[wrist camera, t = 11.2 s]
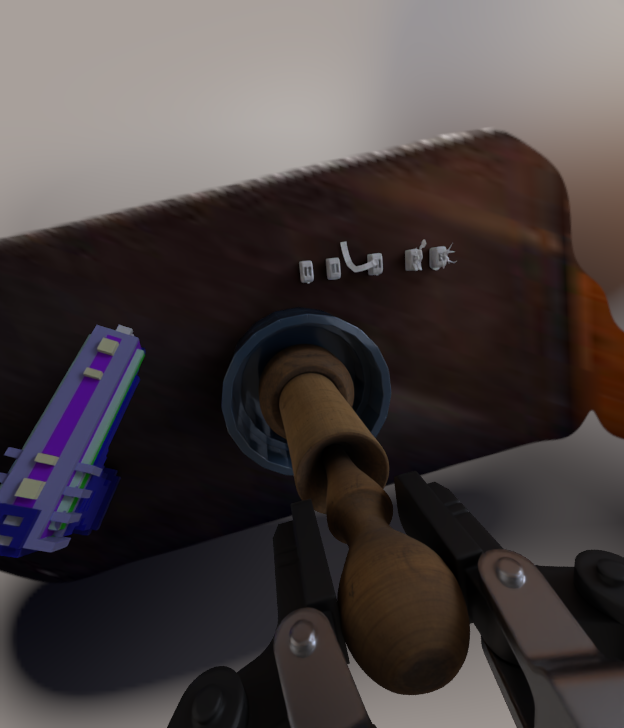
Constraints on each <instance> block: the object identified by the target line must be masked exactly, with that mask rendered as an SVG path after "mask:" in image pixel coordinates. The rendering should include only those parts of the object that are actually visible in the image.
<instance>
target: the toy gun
mask: <svg viewBox="0 0 624 728" xmlns="http://www.w3.org/2000/svg"><path fill="white" fill-rule="evenodd" d="M132 333H133V330H132V329H131V328H128V327H125V326H122V325H119V326H118V327H117V329H116V331H115V330H112V329H109V328H106V327H102V326H99V325H96V327H95V329H94V330H93V332H92V334H89V336H88V338H87V339H86V341H85V343H84V344H83V346H82V348H81V349H80V351H79V353H78V355H77V356H76V358H75V360H74V361H73V363H72V365H71V366H70V368H69V370H68V372H67V373H66V375H65V377H64V378H63V380H62V382H61V383H60V385H59V387H58V389H57V390H56V392H55V394H54V395H53V397H52V399H51V400H50V402H49V404H48V405H47V407H46V409H45V411H44V412H43V414H42V416H41V417H40V419H39V421H38V422H37V424H36V426H35V428H34V429H33V431H32V433H31V434H30V436H29V438H28V439H27V441H26V443H25V445H24V446H23V448H22V450H20V449H16V448H11V447H8V449H7V451H6V452H5V454H4V455H6V456H9V457H13V458H16V460H15V462H14V463H13V465H12V467H11V468H10V470H9V472H8V473H7V474H5V473H0V482H1V483H2V484H1V485H0V555H1V556H8V557H14V558H18V557H21V556H24V555H27V554H30V553H33V552H36V551H46V552H54V551H56V550H59V549H62V548H64V547H67V545H68V543H69V541H70V539H71V538H68V537H63V536H67V535H71V534H72V533H75V534H81V535H90V533H91V531H92V530H98V529H99V528H100V525H101V523H102V521H103V518H104V516H105V514H106V511H107V509H108V507H109V504H110V502H111V500H112V497H113V495H114V493H115V491H116V488H117V486H118V484H119V481H120V479H121V477H118V476H116V474H117V472H118V471H117V470H114V469H109V468H105V466H104V463H105V461H106V459H107V457H106V455H107V453H108V451H109V450H108V447H109V445H110V443H111V441H112V439H113V436H114V434H115V432H116V430H117V428H118V426H119V424H120V422H121V419H122V417H123V415H124V413H125V411H126V409H127V407H128V404H129V402H130V400H131V398H132V396H133V394H134V392H135V389H136V387H137V385H138V383H139V381H140V378H139V376H137V374H138V372H139V367H140V365H141V363H142V361H143V359H144V357H145V354H146V351H145V348H142V347H141V346H140V342H139V338H137V337H134V334H132Z"/></svg>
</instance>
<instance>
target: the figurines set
mask: <svg viewBox="0 0 624 728" xmlns="http://www.w3.org/2000/svg"><path fill="white" fill-rule="evenodd" d="M340 244H341V249H342V253H343V256H344V259H345V262H346V264H347V266H348V267H349V268H350V269H351V270H353V271H354V272H359V271H364V270H367V269H368V274H369V275H377V276H378V274H381V273H382V271H383V264H382V255H381V254H380V253H376V254H368V255H367V260H368V263H366V264H364V265H360V266H355V265H354V264H353V263H352V261H351V258H350V256H349V253H348V249H347V244H346V242H340ZM425 245H426V242H425V240H423V241H422V245H421V246H420V247H419V249H422V247H423V248H424V247H425ZM451 245H452V244H451ZM450 247H451V246H450ZM449 249H450V248H449ZM449 249H448V250H446V247H434V248H430V250H429V263H430V268H433V270H437V269H439V267H443V269H444V266H445V265H446V262H447V261H448V262H449V261H450V260H449V257H447V256H448V254H447V253H451V252H454V251H449ZM422 258H423V255H422V251H421V250H418V249H417V247H416V249H410V250H406V251H405V270H406V271H413V270H415V271H418V269H419V270H422V268H421V260H422ZM447 259H448V260H447ZM450 262H452V261H450ZM452 263H455V262H452ZM350 264H351V265H350ZM299 267H300V276H301V282H302V283H308V284H309V283H310V282H312V281H313V280H314V275H313V265H312V262H311V261H301V262H299ZM326 269H327V278H328V280H334V279H335V280H336V279H339V278H340V276H341V271H340V260H339V258H329V259H326Z"/></svg>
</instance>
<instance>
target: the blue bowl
mask: <svg viewBox="0 0 624 728" xmlns="http://www.w3.org/2000/svg"><path fill="white" fill-rule="evenodd" d="M297 344H313V345H317V346H320V347H323V348H325V349H327V350H328V351H330V352H331V353H332V354H333V355H335V356H336V357H337V358H338V359H339V360H340V361H341V362H342V363H343V365H344V366H345V367H346V369H347V370H348V372H349V374H350V376H351V378H352V381H353V386H354V401H353V406H352V409H353V410H354V411H355V413H356V414H357V415H358V417H359V418H360V419H361V421H362V422H363V423H364V425H365V426H366V427H367V429H368V430H369V431H370V432H371V434H372V435H373V436H374V437H375V438H376V437H377V435H378V433H379V431H380V429H381V427H382V425H383V424H384V422H385V420H386V417H387V413H388V408H389V403H390V398H391V385H390V376H389V370H388V367H387V365H386V362H385V360H384V358H383V356H382V354H381V352H380V350H379V348H378V347H377V345H376V344H375V343H374V342H373V341H372V340H371V339H370V338H369V337H368V336H367V335H366V334H365V333H364V332H363V331H362V330H361V329H359V328H358V327H356V326H354V325H352V324H350V323H347V322H345V321H343V320H341V319H339V318H337V317H335V316H333V315H331V314H329V313H326V312H324V311H322V310H317V309H310V308H302V307H296V308H291V309H286V310H281V311H276V312H273V313H272V314H270V315H268V316H266V317H265V318H263V319H261V320H259V321H257V322H256V323H255V324H253V325H252V326H251V327H250V328H249V330H248V331H247V332H246V333H245V334H244V335H243V336H242V337H241V338H240V339H239V341H238V343H237V345H236V347H235V350H234V352H233V354H232V357H231V359H230V361H229V364H228V367H227V371H226V374H225V377H224V380H223V389H222V403H221V408H222V412H223V416H224V419H225V423H226V426H227V430H228V432H229V434H230V435H231V437H232V438H233V440H234V441H235V443H236V444H237V445H238V447H239V448H240V450H241V451H242V452H243V453H244V454H245V455H246V456H248V457H249V458H250V459H252V460H253V461H255V462H256V463H257V464H259V465H260V466H262V467H263V468H266V469H269V470H272V471H275V472H278V473H281V474H284V475H294V473H293V468H292V462H291V457H290V452H289V447H288V443H287V439H285V438H283V437H281V436H280V435H278V434H277V433H275V432H274V431H273V430H272V429H271V428H270V426H269V425H268V424H267V422H266V421H265V419H264V417H263V414H262V412H261V408H260V403H259V381H260V377H261V374H262V371H263V369H264V368H265V366H266V364H267V363H268V362H269V361H270V359H271V358H272V357H273V356H274V355H276V354H277V353H278V352H280V351H281V350H283V349H285V348H287V347H290V346H293V345H297Z"/></svg>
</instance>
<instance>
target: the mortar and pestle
mask: <svg viewBox="0 0 624 728" xmlns="http://www.w3.org/2000/svg"><path fill="white" fill-rule="evenodd" d="M353 401H354V386H353V381H352V378H351V376H350V374H349V372H348V370H347V369H346V367H345V366H344V365H343V363H342V362H341V361H340V360H339V359H338V358H337V357H336V356H335V355H333V354H332V353H331V352H330V351H328V350H327V349H325V348H323V347H320V346H317V345H313V344H297V345H293V346H290V347H287V348H285V349H283V350H281V351H280V352H278V353H277V354H276V355H274V356H273V357H272V358H271V359H270V361H269V362H268V363H267V364H266V366H265V368H264V369H263V371H262V374H261V377H260V381H259V403H260V408H261V412H262V414H263V417H264V419H265V421H266V422H267V424H268V425H269V426H270V428H271V429H272V430H273V431H274V432H275V433H277V434H278V435H280V436H281V437H283V438H285V439H287V443H288V447H289V452H290V457H291V462H292V468H293V473H294V479H295V484H296V488H297V491H298V494H299V496H300V497H301V499H302V500H303V501H304V500H307V499H311V500H312V504H313V508H314V510H315V511H317V512H320V513H323V514H327V522H328V527H329V530H330V532H331V533H332V535H333V536H334V537H335V538H336V539H337V540H339V541H341V542H343V543H345V544H347V545H348V546H349V551H348V554H347V557H346V561H345V564H344V568H343V572H342V575H341V579H340V583H339V588H338V598H337V604H338V609H339V614H340V619H341V630H342V634H343V637H344V640H345V642H346V644H347V646H348V649H349V651H350V652H351V654H352V656H353V658H354V659H355V661H356V662H357V663H358V665H359V666H360V667H361V668H362V670H363V671H364V672H365V673H366V674H367V675H368V676H369V677H370V678H371V679H372V680H373V681H375V682H376V683H377V684H378V685H380V686H382V687H383V688H385V689H387V690H389V691H391V692H394V693H397V694H403V695H419V694H425V693H430V692H433V691H435V690H438V689H440V688H442V687H444V686H445V685H446V684H448V683H449V682H450V681H451V680H452V679H453V678H454V677H455V676H456V675H457V673H458V672H459V670H460V669H461V667H462V665H463V663H464V661H465V659H466V656H467V653H468V648H469V640H470V623H469V616H468V610H467V606H466V602H465V599H464V596H463V593H462V591H461V588H460V586H459V584H458V581H457V580H456V578H455V576H454V574H453V573H452V571H451V570H450V568H449V567H448V565H447V564H446V563H445V562H444V561H443V559H442V558H441V557H440V556H439V555H438V554H437V553H436V552H434V551H433V550H432V549H431V548H429V547H428V546H426V545H425V544H423V543H421V542H419V541H418V540H416V539H414V538H411V537H409V536H408V535H405V534H403V533H401V532H398V531H396V530H394V529H392V528H391V527H390V526H389V524H390V522H391V520H392V516H393V505H392V502H391V499H390V497H389V496H388V494H387V493H386V492H385V491H384V490H383V488H384V487H385V485H386V482H387V479H388V475H389V463H388V459H387V455H386V453H385V451H384V450H383V448H382V447H381V445H380V444H379V443H378V441H377V440H376V439H375V437H374V436H373V435H372V434H371V432H370V431H369V430H368V429H367V427H366V426H365V425H364V423H363V422H362V421H361V419H360V418H359V417H358V415H357V414H356V413H355V411H354V410H353V409H352V406H353Z"/></svg>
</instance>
